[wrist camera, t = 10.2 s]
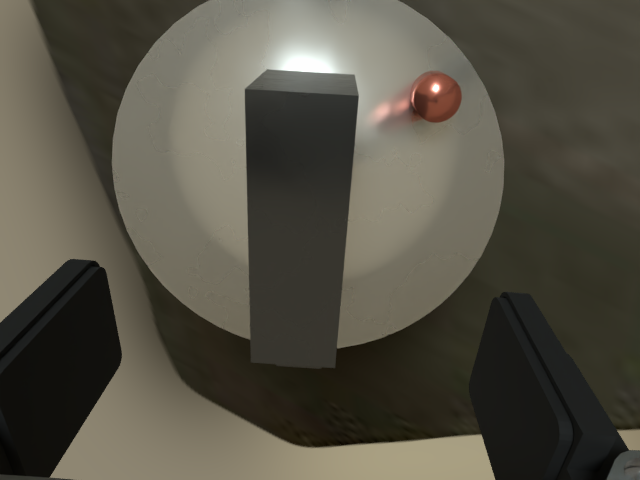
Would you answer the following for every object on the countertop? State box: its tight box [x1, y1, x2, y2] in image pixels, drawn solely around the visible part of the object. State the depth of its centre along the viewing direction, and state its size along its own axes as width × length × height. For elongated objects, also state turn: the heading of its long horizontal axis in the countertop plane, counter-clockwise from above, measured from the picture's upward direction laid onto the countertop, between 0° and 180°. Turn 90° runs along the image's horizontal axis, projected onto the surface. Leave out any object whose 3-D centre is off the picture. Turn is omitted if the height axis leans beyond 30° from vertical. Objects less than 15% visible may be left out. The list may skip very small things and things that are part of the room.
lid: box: [112, 0, 504, 368], centre depth 18 cm, size 16×16×6 cm
